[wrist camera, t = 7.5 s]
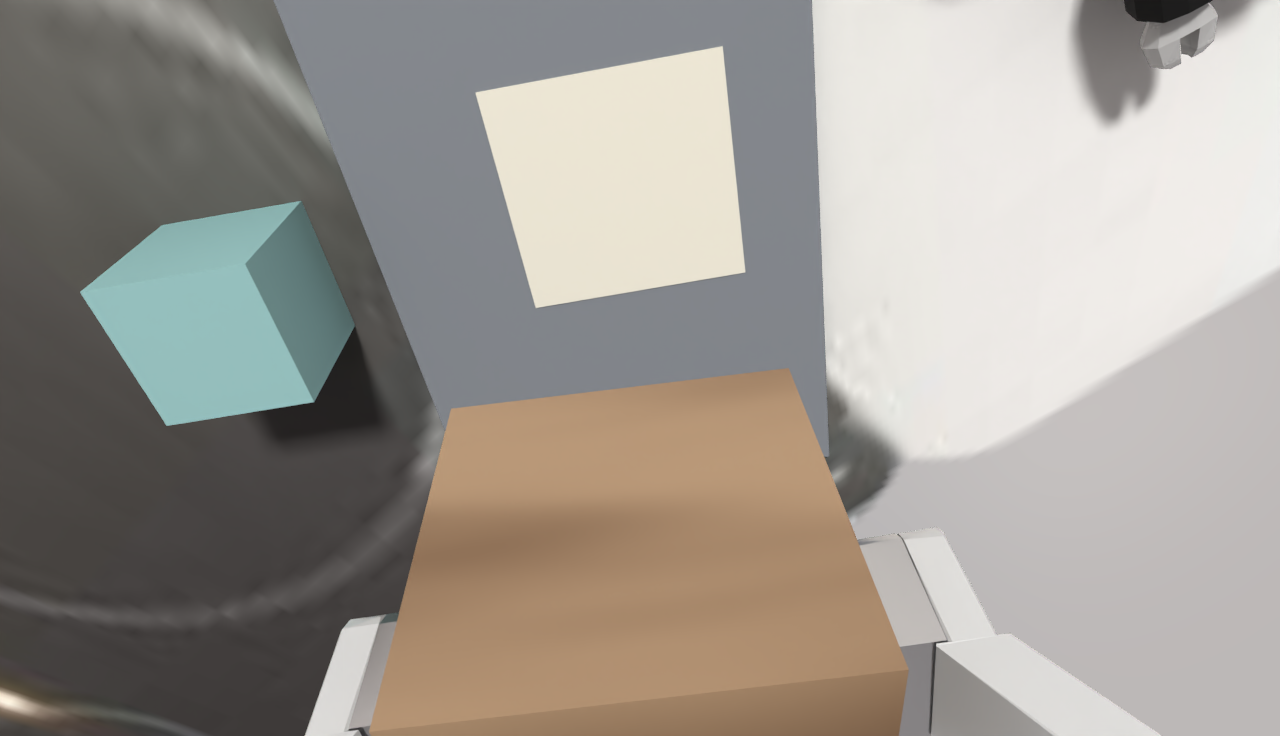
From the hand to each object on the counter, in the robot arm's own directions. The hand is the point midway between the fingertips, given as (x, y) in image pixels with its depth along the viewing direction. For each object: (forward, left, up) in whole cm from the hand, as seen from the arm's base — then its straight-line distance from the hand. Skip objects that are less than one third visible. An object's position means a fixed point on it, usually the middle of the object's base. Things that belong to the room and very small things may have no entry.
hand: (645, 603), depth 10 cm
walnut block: (0, 0, -2) cm, 2 cm away
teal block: (-1, +12, -16) cm, 20 cm away
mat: (-2, +1, -16) cm, 16 cm away
